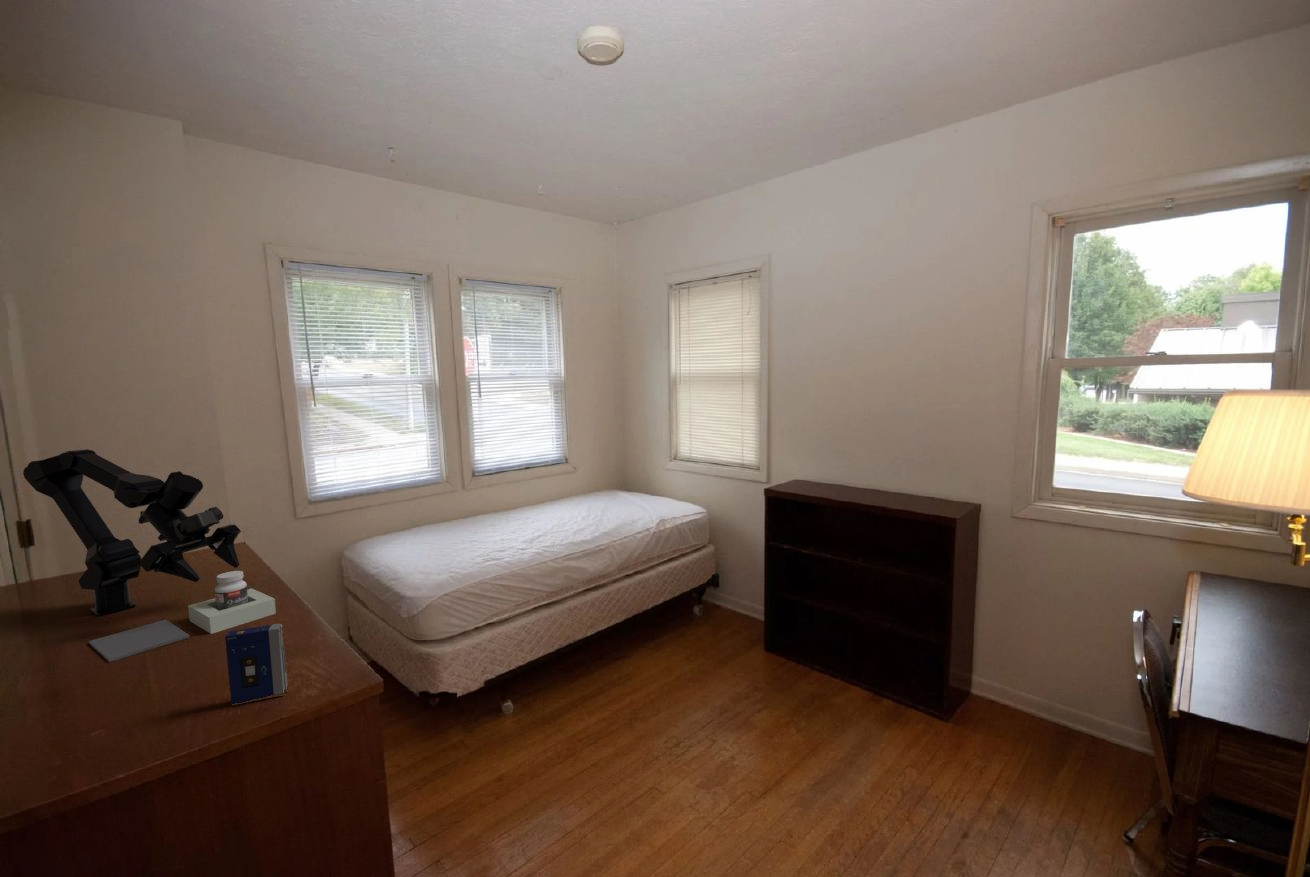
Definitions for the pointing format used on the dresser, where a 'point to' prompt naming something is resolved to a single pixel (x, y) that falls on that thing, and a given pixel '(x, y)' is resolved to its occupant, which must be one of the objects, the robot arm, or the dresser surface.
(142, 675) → the dresser surface
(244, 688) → the cassette player
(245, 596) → the pill bottle
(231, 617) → the socket block
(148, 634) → the charcoal mat
